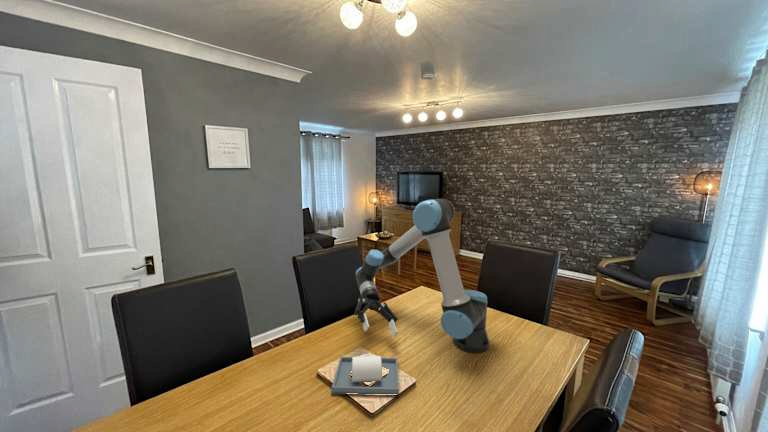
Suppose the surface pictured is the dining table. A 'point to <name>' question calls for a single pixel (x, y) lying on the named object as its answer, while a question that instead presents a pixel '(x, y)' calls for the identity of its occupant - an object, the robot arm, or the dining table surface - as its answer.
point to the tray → (346, 385)
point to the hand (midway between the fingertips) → (381, 331)
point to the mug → (366, 368)
